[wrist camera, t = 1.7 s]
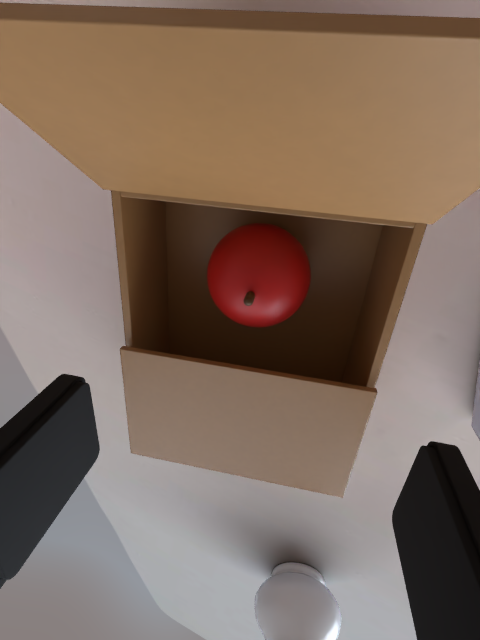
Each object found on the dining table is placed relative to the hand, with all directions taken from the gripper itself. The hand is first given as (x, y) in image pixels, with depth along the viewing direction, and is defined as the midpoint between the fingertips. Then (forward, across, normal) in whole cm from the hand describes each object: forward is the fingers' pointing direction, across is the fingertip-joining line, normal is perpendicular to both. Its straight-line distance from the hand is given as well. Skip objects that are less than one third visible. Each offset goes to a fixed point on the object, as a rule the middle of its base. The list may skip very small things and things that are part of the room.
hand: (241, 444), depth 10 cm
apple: (+16, +1, -1) cm, 16 cm away
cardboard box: (+16, +1, +4) cm, 17 cm away
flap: (+5, +1, -7) cm, 9 cm away
